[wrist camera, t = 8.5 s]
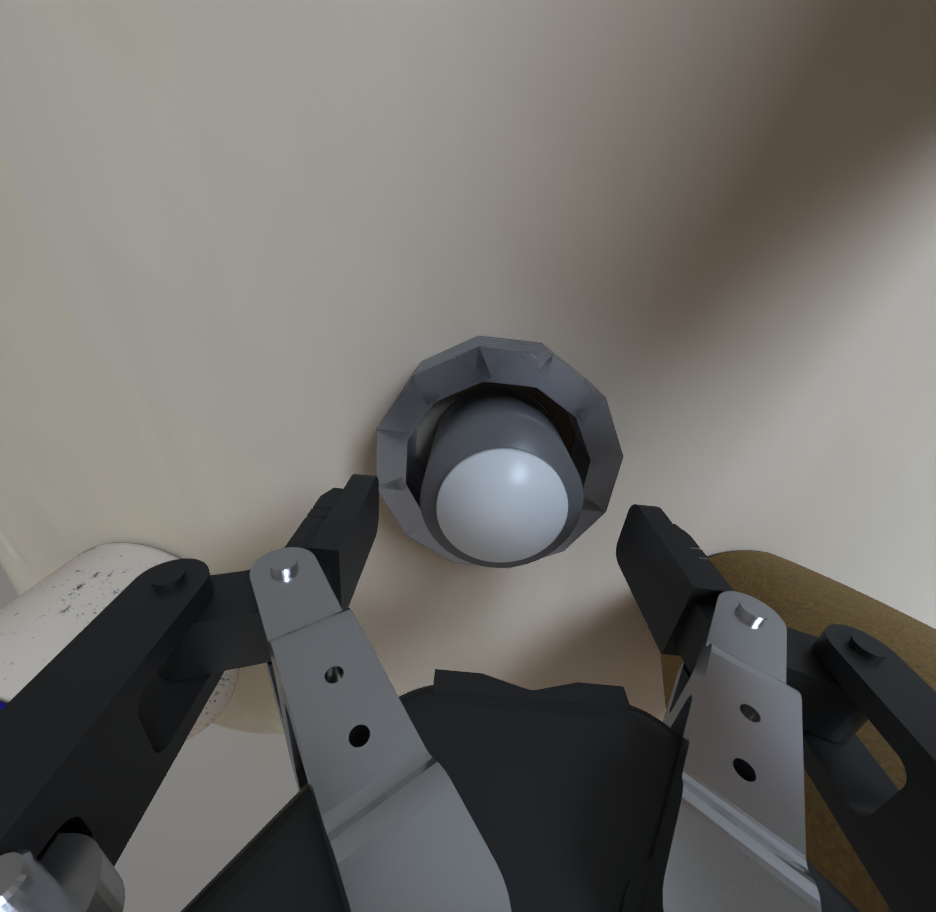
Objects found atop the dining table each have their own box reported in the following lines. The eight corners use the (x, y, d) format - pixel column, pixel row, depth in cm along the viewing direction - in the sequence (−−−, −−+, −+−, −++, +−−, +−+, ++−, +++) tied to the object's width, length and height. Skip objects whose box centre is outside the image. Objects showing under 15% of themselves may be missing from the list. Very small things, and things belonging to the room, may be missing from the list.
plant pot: (660, 456, 18) (1489, 1275, 3) (938, 526, 19) (2444, 1345, 4) (550, 663, 24) (662, 1260, 9) (765, 706, 25) (1156, 1291, 11)
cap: (439, 379, 16) (422, 424, 12) (567, 393, 16) (605, 444, 12) (431, 491, 19) (414, 567, 14) (543, 502, 19) (566, 581, 14)
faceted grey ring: (392, 325, 15) (377, 334, 13) (625, 352, 16) (651, 366, 13) (387, 521, 20) (375, 554, 17) (573, 540, 20) (585, 576, 17)
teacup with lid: (101, 646, 24) (-191, 931, 14) (44, 528, 20) (-424, 799, 10) (290, 660, 24) (145, 953, 14) (269, 546, 20) (46, 832, 10)
